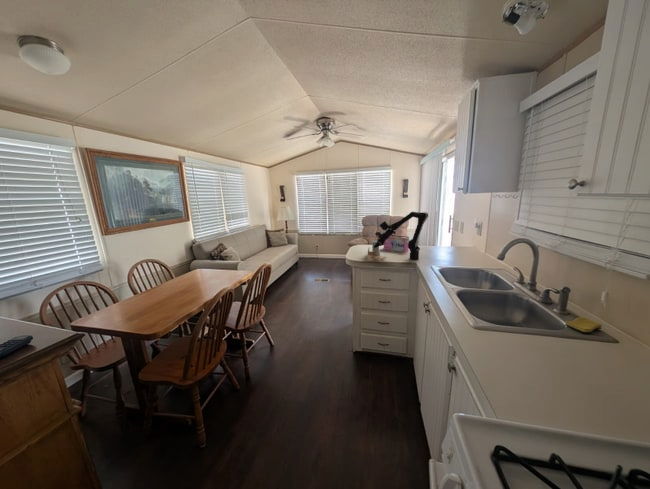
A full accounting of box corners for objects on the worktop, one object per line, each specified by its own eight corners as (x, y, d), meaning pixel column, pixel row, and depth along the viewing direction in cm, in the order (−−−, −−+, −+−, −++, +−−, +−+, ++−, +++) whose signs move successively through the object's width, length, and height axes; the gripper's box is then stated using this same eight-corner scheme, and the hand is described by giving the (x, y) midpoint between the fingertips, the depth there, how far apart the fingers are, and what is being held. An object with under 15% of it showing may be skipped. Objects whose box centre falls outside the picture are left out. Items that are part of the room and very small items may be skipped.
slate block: (378, 253, 222) (379, 241, 219) (378, 255, 217) (378, 242, 214) (372, 253, 223) (372, 240, 220) (372, 255, 218) (372, 242, 215)
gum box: (382, 248, 242) (382, 235, 239) (386, 247, 247) (386, 234, 244) (404, 252, 226) (405, 237, 223) (408, 250, 231) (409, 236, 228)
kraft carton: (386, 257, 211) (386, 248, 209) (387, 261, 196) (387, 252, 195) (368, 256, 214) (368, 247, 212) (367, 261, 200) (367, 251, 198)
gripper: (380, 226, 223) (368, 238, 227) (380, 229, 205) (367, 242, 210) (389, 235, 223) (376, 246, 227) (389, 238, 205) (376, 251, 210)
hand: (374, 246), depth 219 cm, fingers open, 9 cm apart
